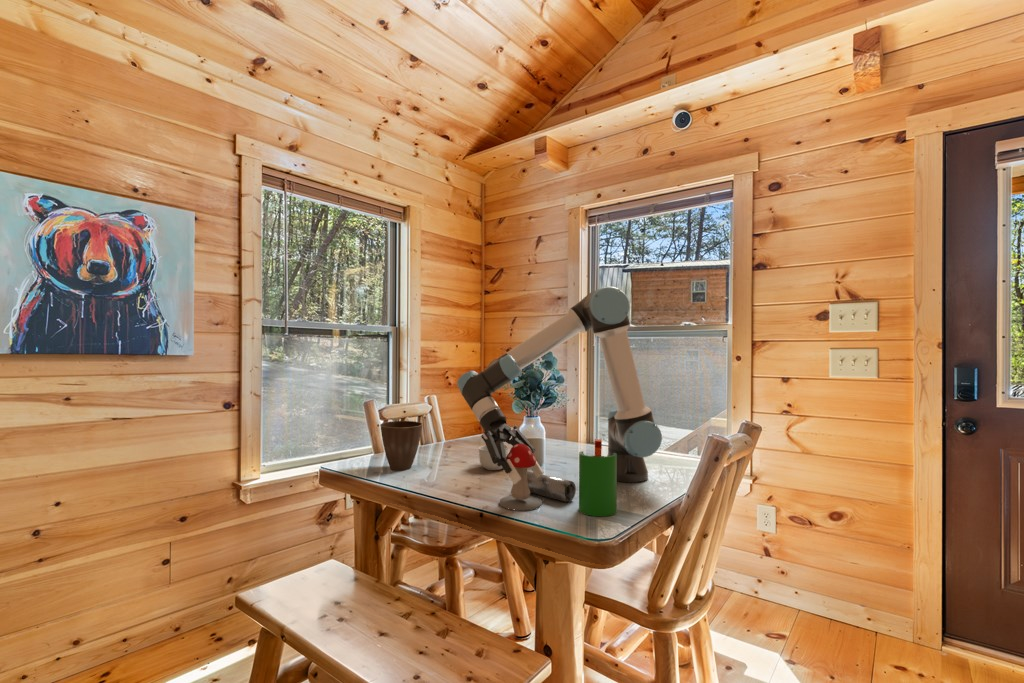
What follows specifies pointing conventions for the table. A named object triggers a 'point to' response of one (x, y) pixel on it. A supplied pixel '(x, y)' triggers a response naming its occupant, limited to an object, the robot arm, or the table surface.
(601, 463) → the motor
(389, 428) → the plant pot
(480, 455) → the teacup
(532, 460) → the decorative mushroom
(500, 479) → the table surface
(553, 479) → the metal pipe
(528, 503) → the rubber mat
